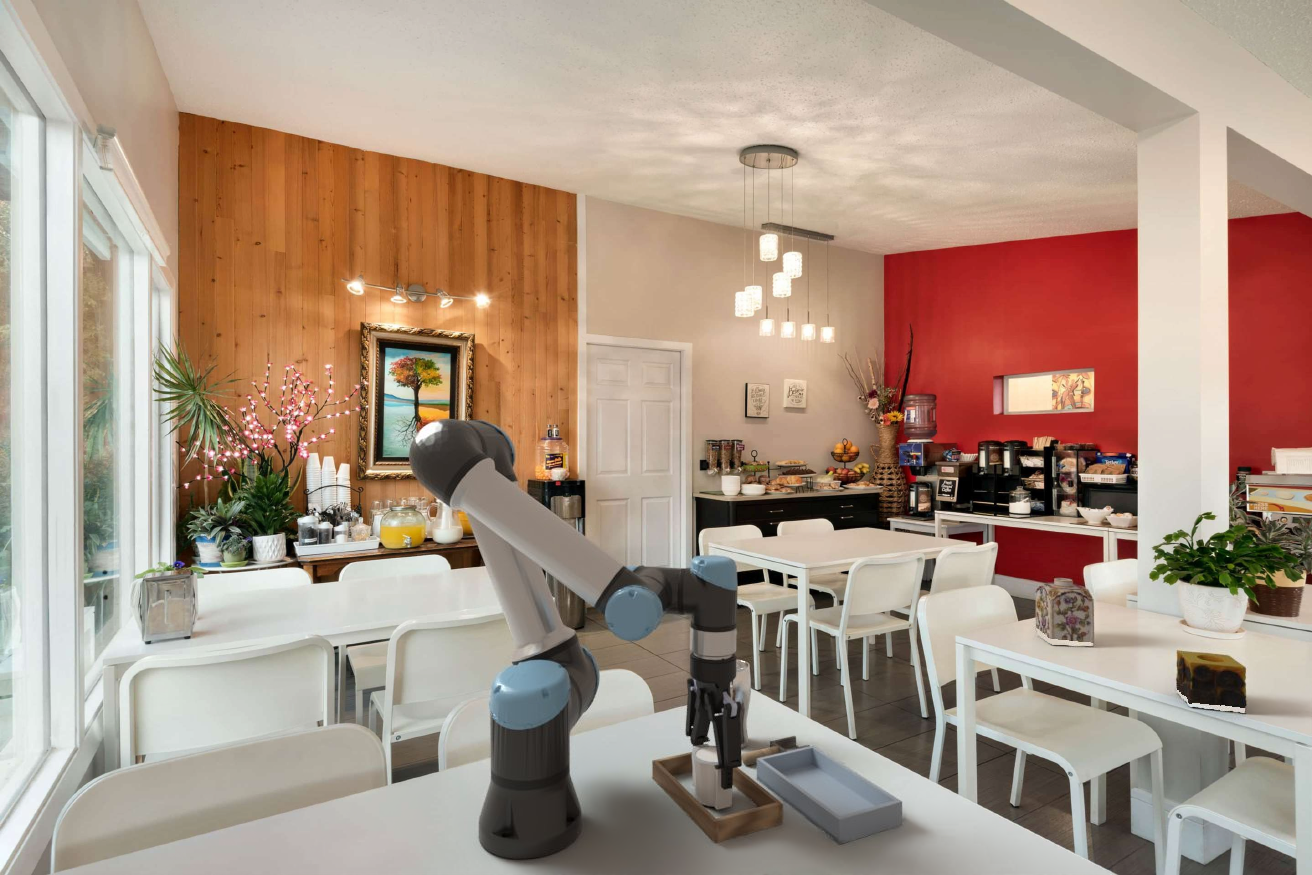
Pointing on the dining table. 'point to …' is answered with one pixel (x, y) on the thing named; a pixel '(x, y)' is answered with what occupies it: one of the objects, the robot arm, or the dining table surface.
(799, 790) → the bin
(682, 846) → the dining table surface
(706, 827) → the walnut frame
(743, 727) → the silver metal tumbler
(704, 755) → the white faceted cup
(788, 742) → the hand scoop
